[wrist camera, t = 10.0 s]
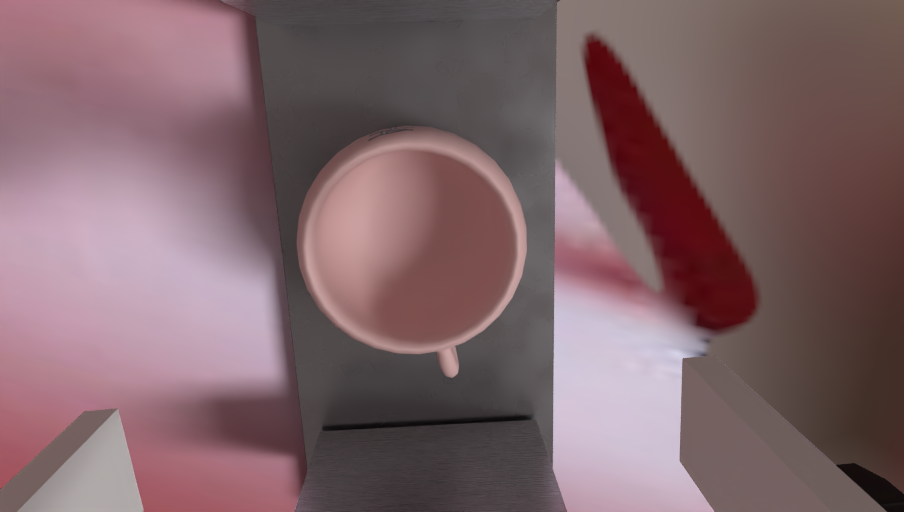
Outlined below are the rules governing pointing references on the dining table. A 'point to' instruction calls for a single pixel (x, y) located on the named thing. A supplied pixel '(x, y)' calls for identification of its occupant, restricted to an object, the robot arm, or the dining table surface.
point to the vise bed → (430, 105)
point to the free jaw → (432, 470)
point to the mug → (412, 241)
